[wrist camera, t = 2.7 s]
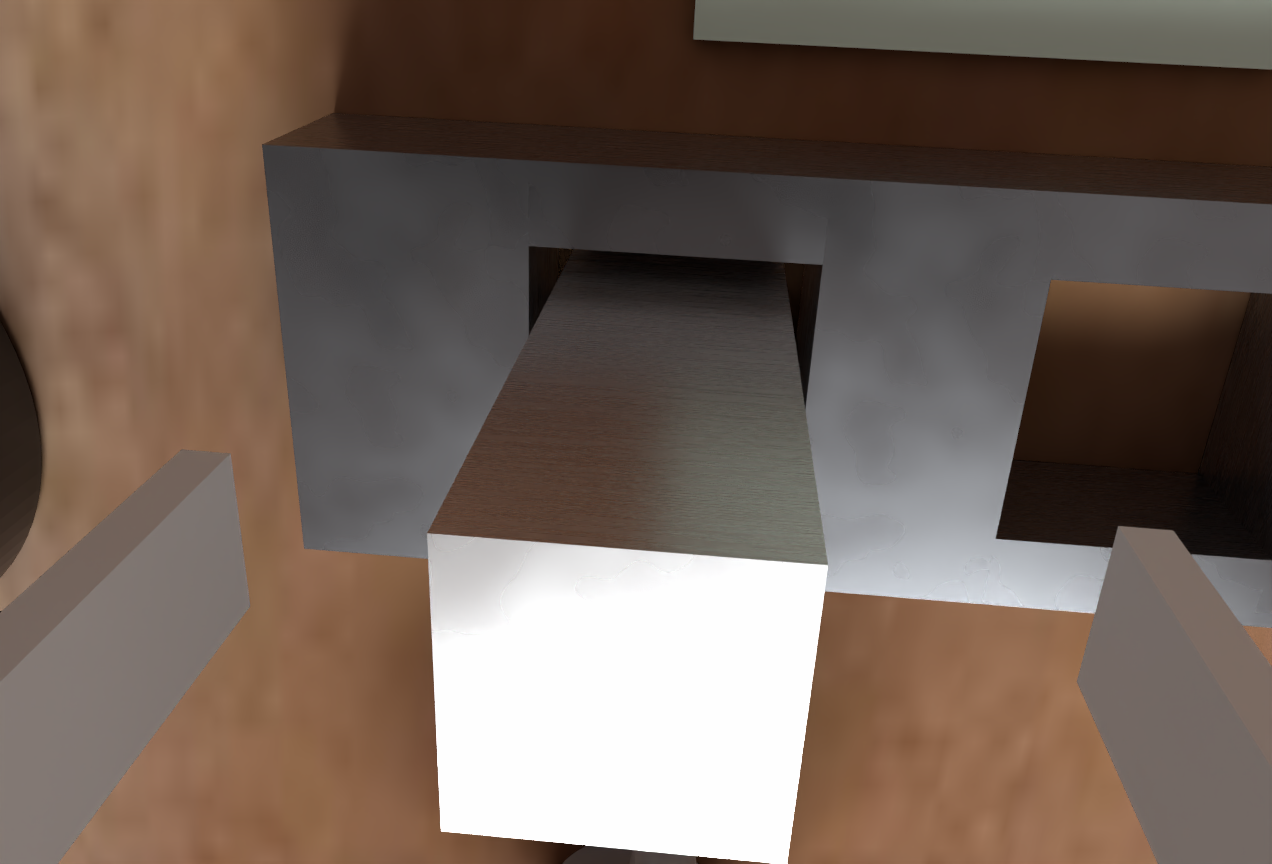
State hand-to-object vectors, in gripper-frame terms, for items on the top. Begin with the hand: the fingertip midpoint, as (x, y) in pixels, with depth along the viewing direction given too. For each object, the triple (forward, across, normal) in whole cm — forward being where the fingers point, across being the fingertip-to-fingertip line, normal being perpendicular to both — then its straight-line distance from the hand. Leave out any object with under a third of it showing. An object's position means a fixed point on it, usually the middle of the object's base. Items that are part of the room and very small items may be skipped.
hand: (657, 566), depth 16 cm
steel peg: (+10, 0, 0) cm, 11 cm away
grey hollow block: (+10, +4, 0) cm, 11 cm away
